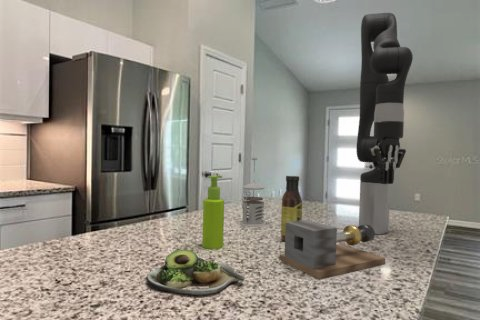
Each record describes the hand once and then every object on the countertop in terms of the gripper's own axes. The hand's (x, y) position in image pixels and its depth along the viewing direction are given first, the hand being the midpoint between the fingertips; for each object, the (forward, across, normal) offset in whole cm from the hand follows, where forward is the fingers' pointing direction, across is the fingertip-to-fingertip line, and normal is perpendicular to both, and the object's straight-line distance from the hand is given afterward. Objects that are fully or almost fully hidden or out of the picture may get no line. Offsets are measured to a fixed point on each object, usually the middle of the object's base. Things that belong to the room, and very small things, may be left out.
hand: (386, 183), depth 95 cm
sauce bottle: (+19, +16, -21) cm, 33 cm away
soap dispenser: (+19, +40, -26) cm, 51 cm away
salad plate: (+20, +55, -6) cm, 59 cm away
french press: (+19, +15, -45) cm, 51 cm away
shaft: (+16, +17, 0) cm, 23 cm away
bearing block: (+19, +20, 0) cm, 28 cm away
